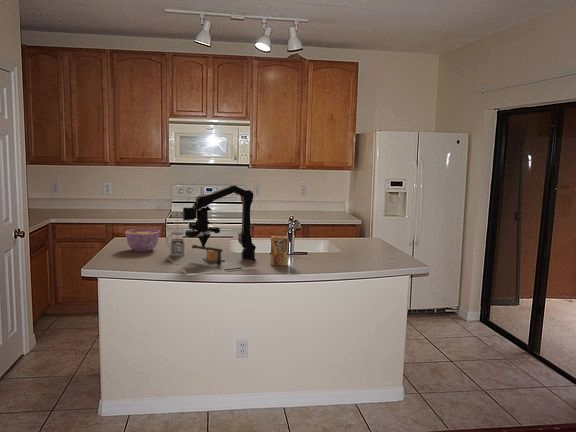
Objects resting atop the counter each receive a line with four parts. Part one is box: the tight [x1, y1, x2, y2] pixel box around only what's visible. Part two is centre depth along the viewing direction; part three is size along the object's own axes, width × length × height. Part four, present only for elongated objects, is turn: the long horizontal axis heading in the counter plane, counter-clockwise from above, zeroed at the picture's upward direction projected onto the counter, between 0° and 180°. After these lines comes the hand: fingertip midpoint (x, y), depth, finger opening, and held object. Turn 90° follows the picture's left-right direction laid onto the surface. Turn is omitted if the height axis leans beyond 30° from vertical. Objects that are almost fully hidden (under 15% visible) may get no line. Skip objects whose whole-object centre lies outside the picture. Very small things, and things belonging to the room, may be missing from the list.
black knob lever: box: [191, 244, 223, 264], centre depth 268 cm, size 19×2×8 cm, turn 63°
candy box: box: [270, 235, 288, 266], centre depth 270 cm, size 9×4×15 cm, turn 89°
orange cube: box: [206, 250, 218, 261], centre depth 272 cm, size 6×6×6 cm
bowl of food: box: [124, 228, 161, 253], centre depth 296 cm, size 20×20×12 cm
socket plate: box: [198, 256, 232, 267], centre depth 271 cm, size 12×20×2 cm, turn 28°
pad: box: [223, 267, 244, 273], centre depth 260 cm, size 9×9×1 cm
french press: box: [165, 212, 185, 257], centre depth 282 cm, size 10×12×25 cm
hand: (203, 247), depth 270 cm, fingers closed
